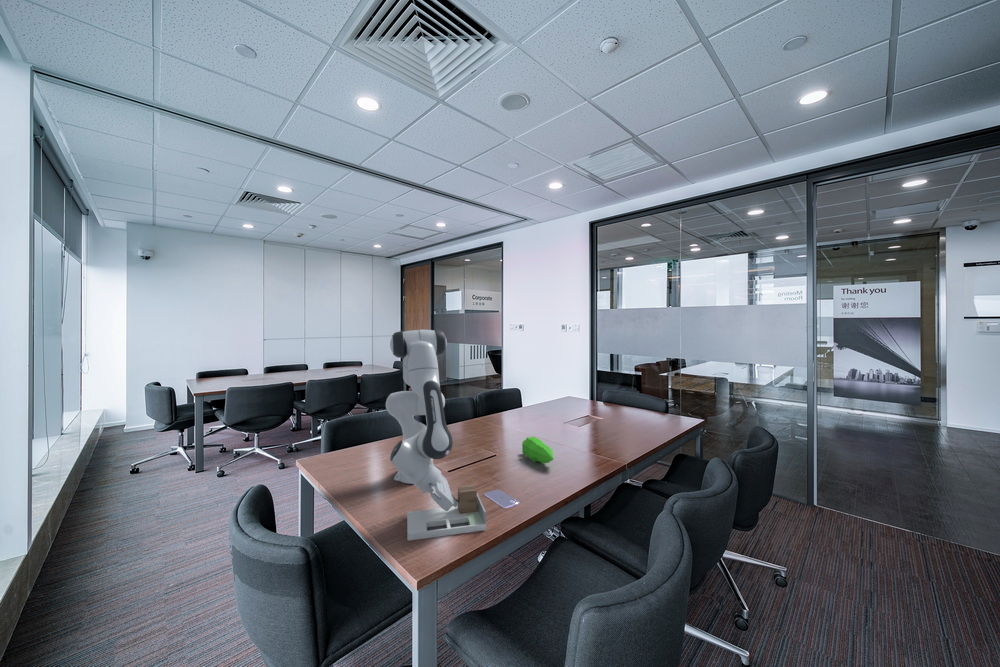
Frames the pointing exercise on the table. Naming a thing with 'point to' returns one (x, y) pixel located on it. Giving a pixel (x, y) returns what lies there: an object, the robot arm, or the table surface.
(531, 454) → the green faceted blob
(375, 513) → the table surface
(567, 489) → the table surface
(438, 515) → the track
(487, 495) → the mobile phone
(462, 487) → the walnut block
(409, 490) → the table surface
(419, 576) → the table surface
